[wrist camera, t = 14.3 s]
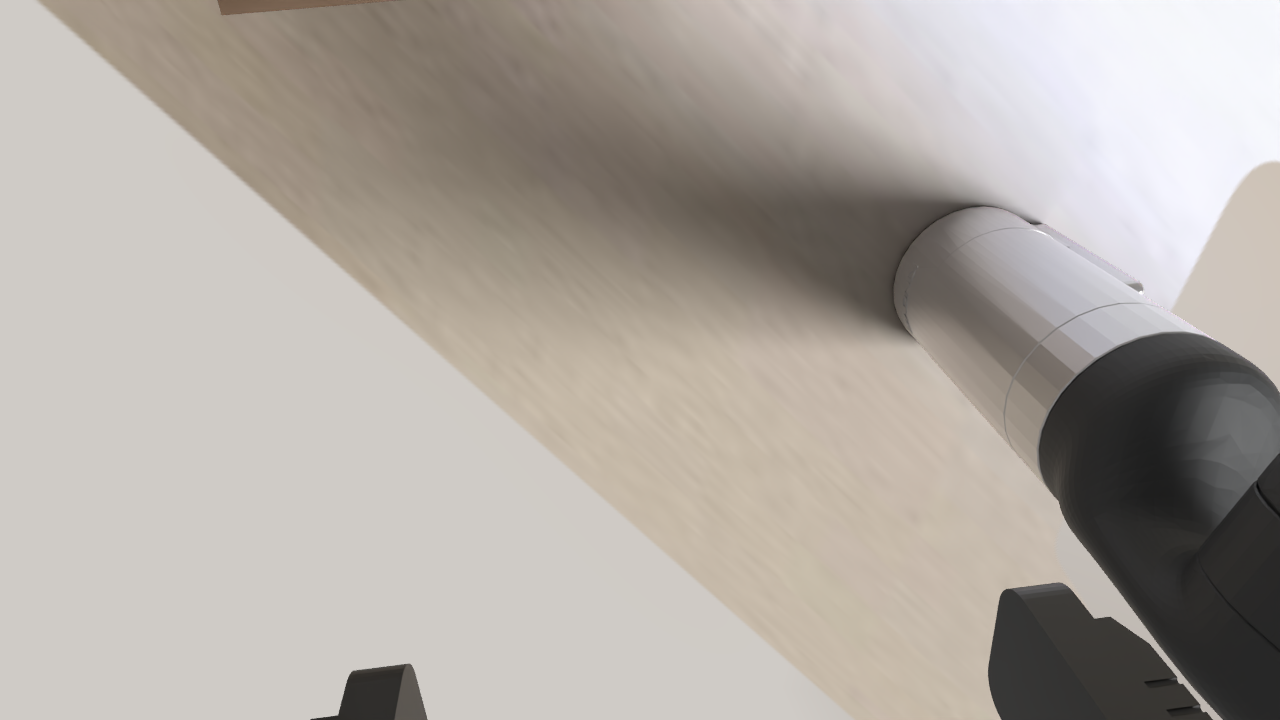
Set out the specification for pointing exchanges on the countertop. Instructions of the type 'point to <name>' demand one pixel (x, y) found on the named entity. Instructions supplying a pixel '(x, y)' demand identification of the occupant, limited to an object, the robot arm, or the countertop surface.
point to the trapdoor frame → (280, 5)
